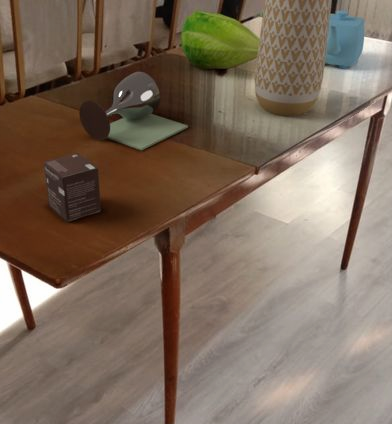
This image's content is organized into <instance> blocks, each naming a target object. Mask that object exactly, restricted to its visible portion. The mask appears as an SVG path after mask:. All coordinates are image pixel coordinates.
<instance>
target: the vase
mask: <svg viewBox="0 0 392 424" xmlns="http://www.w3.org/2000/svg"><path fill="white" fill-rule="evenodd" d="M332 2H333V0H264V5H263V12H262V20H261V27H260V33H259V38H260V40H259V47H258V54H257V58H256V62H255V71H254V92H255V98H256V100H257V102H258V104H259V105H260V107H261V108H262V109H263V110H264V111H265V112H268V113H270V114H273V115H277V116H284V117H294V116H295V117H296V116H301V115H303V114H305V113H307V112H309V111H310V110H311V108H313V106H314V105H315V104H316V102H317V101H318V98H319V96H320V92H321V89H322V86H323V85H322V84H323V79H324V73H325V65H326V64H325V57H326V48H327V39H328V30H329V21H330V14H331V11H332Z"/></svg>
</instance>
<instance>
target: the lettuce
mask: <svg viewBox="0 0 392 424" xmlns="http://www.w3.org/2000/svg"><path fill="white" fill-rule="evenodd" d="M259 40H260V37H258V35H256V34H255V32H253V30H251V29H250V28H249V27H247V26H245V25H244V24H243V23H241V22H240V21H238V20H237V19H235V18H232V17H230V16H227V15H224V14H221V13H218V12H209V11H206V10H205V11H204V10H200V9H196V10H194V12H192V13H191V14H189V15H188V16H187V17H186V19H185V20H184V22H183V24H182V29H181V35H180V41H181V42H180V45H181V50H182V53H183V54H184V56H185V57H186V59H187V61H188V62H189V63H190V64H191V65H193V66H194V67H195V68H197V69H199V70H208V69H209V70H213V69H214V70H224V69H225V70H226V69H230V68H235V67H238V66H241V65H243V64H244V65H245V64H246V63H249V62H250V61H253V60H257V54H258V47H259Z"/></svg>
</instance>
